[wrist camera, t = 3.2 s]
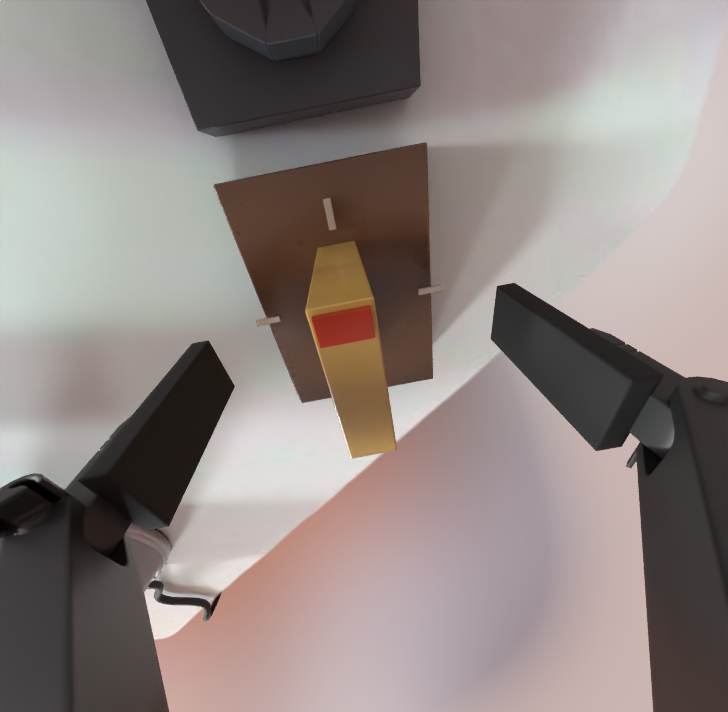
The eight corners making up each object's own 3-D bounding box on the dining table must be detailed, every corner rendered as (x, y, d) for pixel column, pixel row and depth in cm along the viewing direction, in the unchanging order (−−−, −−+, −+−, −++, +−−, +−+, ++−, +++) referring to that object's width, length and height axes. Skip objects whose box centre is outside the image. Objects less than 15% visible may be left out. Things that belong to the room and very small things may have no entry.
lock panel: (429, 355, 23) (442, 378, 20) (297, 380, 23) (292, 406, 20) (422, 145, 15) (441, 138, 12) (221, 185, 15) (197, 187, 12)
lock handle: (373, 350, 18) (398, 455, 11) (344, 356, 18) (351, 464, 11) (354, 240, 14) (374, 300, 7) (317, 247, 14) (303, 314, 8)
